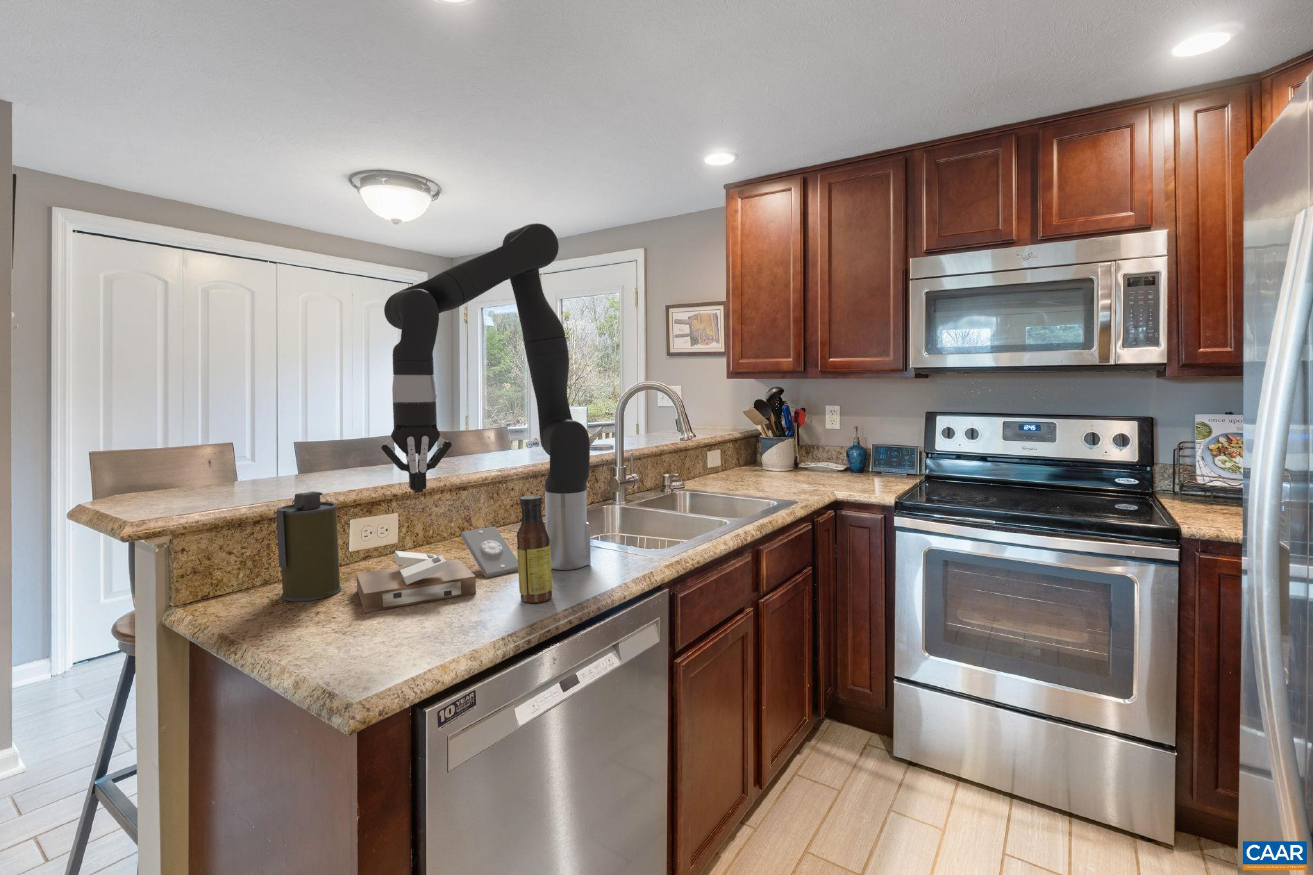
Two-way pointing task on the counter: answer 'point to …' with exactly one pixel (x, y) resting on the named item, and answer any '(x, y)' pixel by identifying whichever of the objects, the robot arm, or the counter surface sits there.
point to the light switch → (490, 551)
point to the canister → (308, 548)
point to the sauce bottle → (533, 553)
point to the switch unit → (413, 587)
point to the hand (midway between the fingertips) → (417, 492)
